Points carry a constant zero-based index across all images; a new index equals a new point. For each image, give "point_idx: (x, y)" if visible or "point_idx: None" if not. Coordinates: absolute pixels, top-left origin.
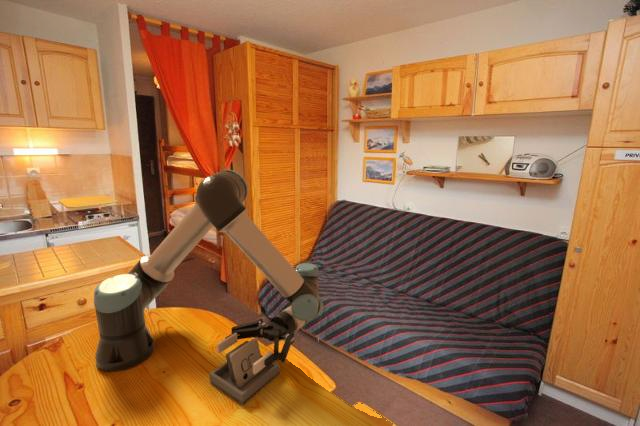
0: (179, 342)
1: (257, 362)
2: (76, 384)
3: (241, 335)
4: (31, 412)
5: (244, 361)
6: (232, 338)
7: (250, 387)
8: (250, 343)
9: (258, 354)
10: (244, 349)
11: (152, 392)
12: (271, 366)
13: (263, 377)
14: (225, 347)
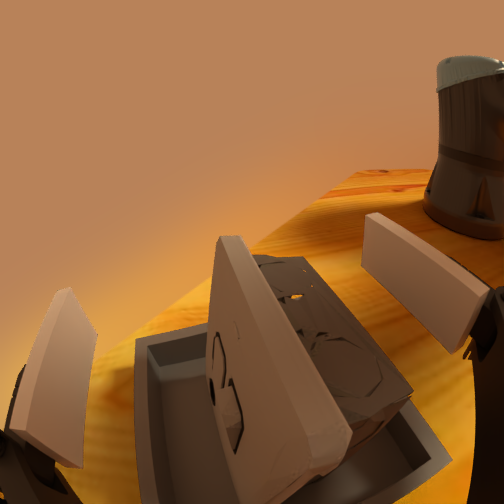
0: None
1: (52, 306)
2: (402, 189)
3: (488, 358)
4: (362, 175)
5: (218, 351)
6: (437, 283)
7: (138, 375)
8: (268, 362)
9: (254, 481)
10: (238, 311)
11: (349, 234)
12: None
13: (137, 446)
14: (389, 278)
